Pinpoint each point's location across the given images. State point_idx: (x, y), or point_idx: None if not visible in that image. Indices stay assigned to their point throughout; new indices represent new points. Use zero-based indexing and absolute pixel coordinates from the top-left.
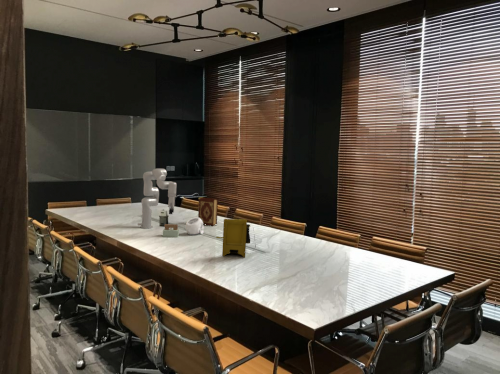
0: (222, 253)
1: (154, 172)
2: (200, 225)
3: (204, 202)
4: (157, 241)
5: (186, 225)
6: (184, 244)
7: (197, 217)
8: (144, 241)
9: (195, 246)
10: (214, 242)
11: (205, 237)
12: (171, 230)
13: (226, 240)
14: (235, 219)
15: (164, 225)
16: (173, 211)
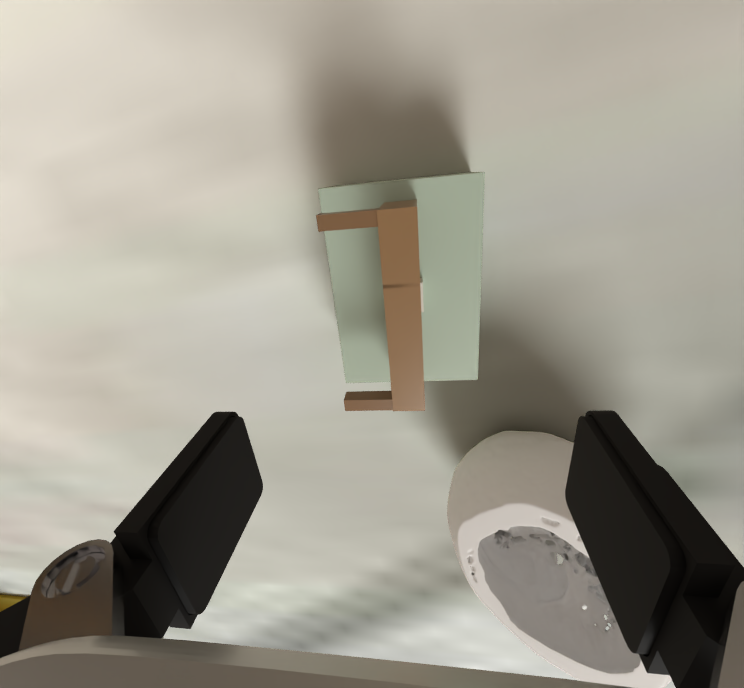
0: None
1: None
2: (528, 597)
3: None
4: (98, 187)
5: (493, 486)
6: (118, 428)
7: (650, 683)
8: (16, 18)
9: (104, 490)
10: (261, 577)
11: (404, 539)
12: (355, 307)
13: None
14: None
15: (318, 217)
16: (584, 524)
